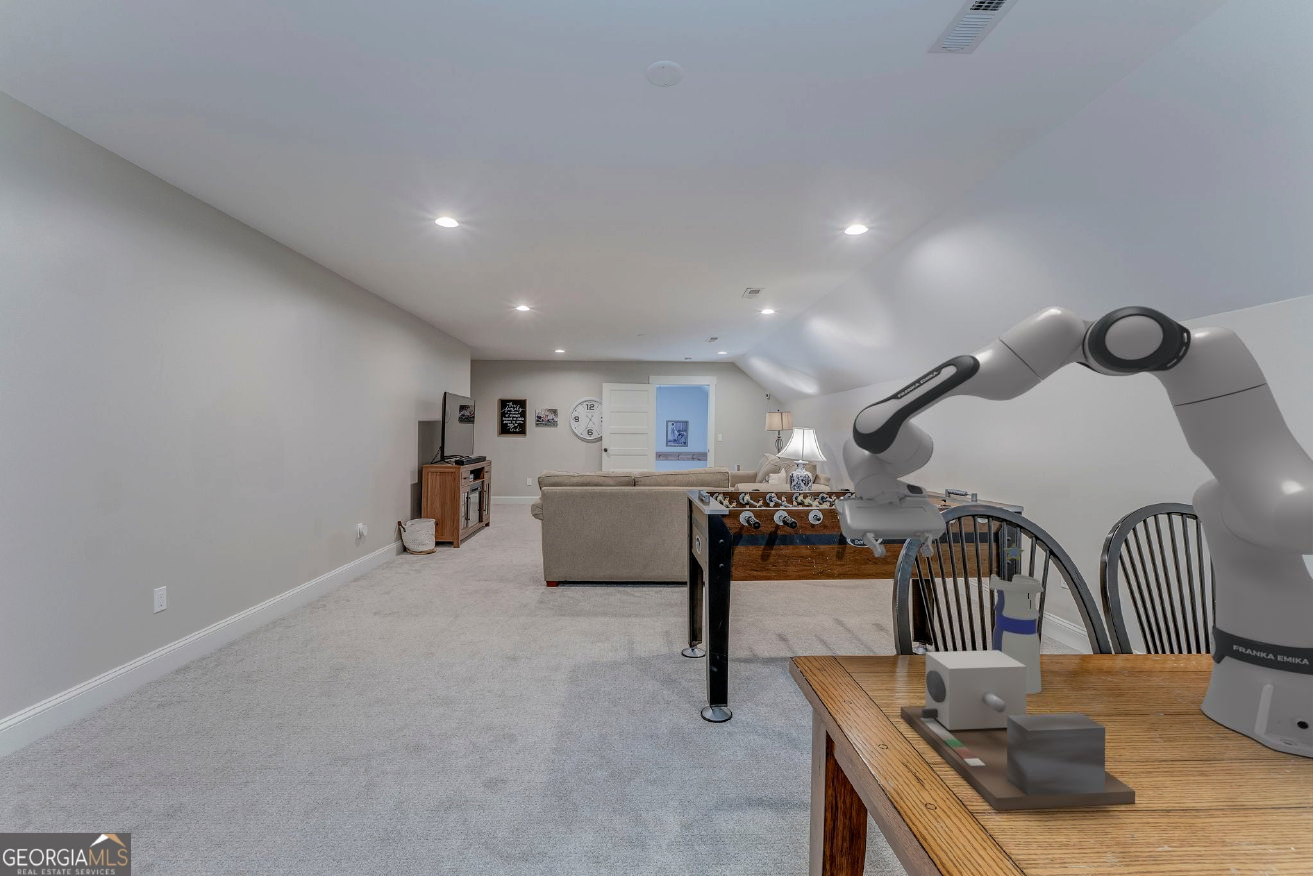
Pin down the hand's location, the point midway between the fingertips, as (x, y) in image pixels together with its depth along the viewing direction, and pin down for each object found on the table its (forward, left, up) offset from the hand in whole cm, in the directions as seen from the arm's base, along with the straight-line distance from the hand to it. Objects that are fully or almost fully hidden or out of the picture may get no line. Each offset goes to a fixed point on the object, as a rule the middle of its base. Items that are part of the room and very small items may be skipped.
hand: (905, 555), depth 103 cm
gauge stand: (-18, +18, -22) cm, 34 cm away
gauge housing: (-14, +16, -20) cm, 29 cm away
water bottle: (-16, -9, -23) cm, 29 cm away
